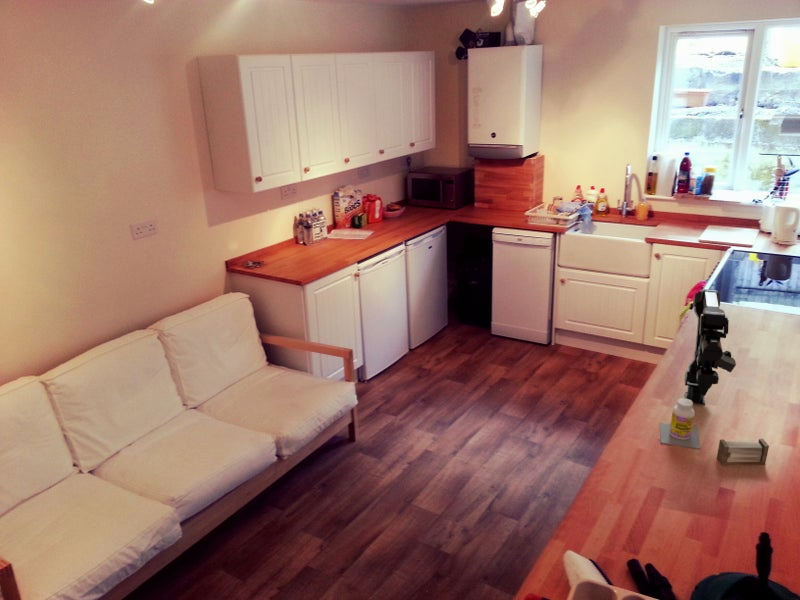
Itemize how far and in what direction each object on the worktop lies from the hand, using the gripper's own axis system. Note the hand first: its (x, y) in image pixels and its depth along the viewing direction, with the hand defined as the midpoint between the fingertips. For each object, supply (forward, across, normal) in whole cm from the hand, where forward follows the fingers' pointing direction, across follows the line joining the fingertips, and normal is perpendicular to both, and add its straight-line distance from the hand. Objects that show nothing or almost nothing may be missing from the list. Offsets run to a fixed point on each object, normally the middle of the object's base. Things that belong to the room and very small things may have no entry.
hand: (702, 388), depth 221 cm
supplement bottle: (+13, -11, +6) cm, 18 cm away
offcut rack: (+13, -20, -11) cm, 27 cm away
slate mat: (+13, -11, +6) cm, 18 cm away
